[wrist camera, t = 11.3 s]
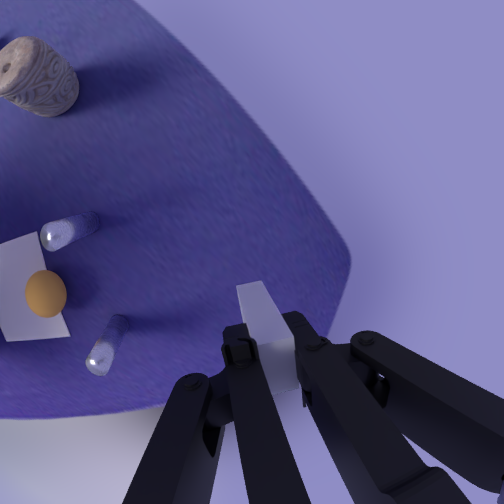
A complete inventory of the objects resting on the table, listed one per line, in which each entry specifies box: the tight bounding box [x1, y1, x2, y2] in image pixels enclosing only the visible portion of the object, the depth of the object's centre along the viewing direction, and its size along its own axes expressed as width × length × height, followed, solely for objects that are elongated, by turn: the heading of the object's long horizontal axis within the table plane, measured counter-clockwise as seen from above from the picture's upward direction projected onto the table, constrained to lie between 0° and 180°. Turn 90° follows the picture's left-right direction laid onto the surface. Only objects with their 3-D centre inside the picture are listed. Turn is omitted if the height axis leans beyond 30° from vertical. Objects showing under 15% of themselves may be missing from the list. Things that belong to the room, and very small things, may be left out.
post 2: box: [86, 315, 129, 376], centre depth 26 cm, size 2×2×9 cm
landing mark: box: [0, 231, 71, 342], centre depth 27 cm, size 14×14×1 cm
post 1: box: [40, 212, 100, 251], centre depth 23 cm, size 2×2×9 cm
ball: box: [25, 270, 67, 318], centre depth 25 cm, size 6×6×6 cm
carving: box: [0, 36, 79, 117], centre depth 17 cm, size 6×8×12 cm
